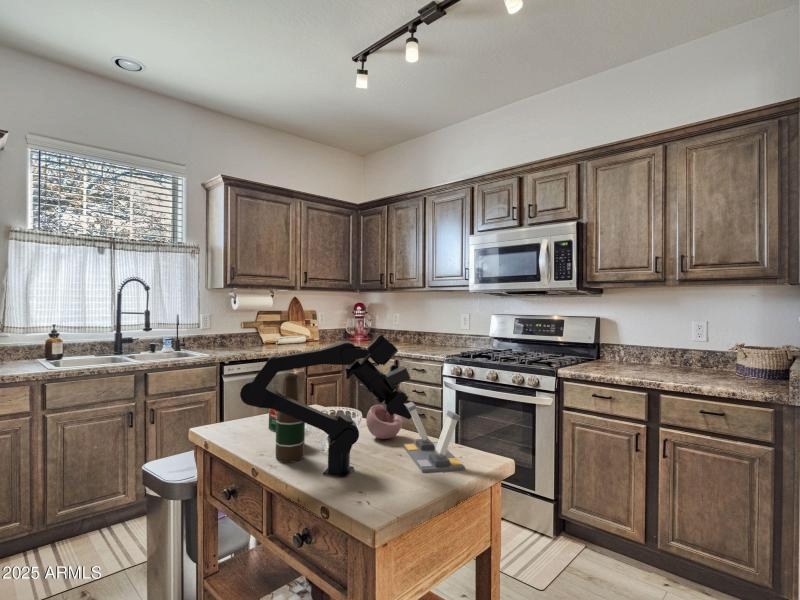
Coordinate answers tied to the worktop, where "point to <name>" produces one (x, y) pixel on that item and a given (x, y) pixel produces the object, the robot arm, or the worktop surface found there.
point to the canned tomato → (272, 419)
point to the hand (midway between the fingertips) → (410, 417)
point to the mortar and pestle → (383, 422)
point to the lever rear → (417, 421)
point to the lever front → (446, 434)
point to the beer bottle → (289, 428)
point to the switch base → (426, 457)
